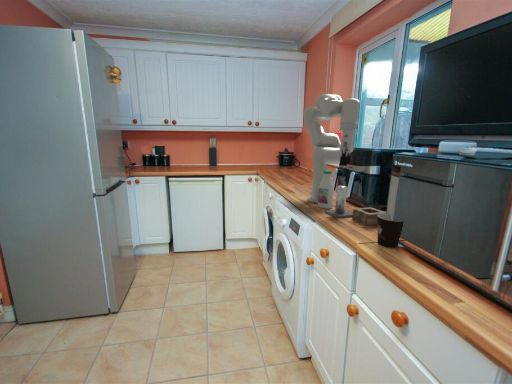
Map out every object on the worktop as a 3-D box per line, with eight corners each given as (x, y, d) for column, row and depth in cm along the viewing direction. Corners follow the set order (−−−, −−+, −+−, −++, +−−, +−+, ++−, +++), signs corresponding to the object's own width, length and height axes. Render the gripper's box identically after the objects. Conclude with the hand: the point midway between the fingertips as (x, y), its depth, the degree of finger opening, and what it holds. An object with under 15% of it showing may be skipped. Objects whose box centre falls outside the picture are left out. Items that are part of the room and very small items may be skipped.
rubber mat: (325, 212, 130) (325, 210, 130) (341, 211, 133) (341, 209, 133) (337, 218, 121) (337, 216, 121) (354, 216, 124) (355, 214, 124)
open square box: (352, 219, 120) (353, 208, 119) (369, 217, 123) (370, 207, 122) (368, 225, 111) (369, 214, 110) (386, 223, 114) (387, 213, 113)
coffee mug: (402, 251, 86) (406, 222, 84) (374, 246, 90) (377, 218, 87) (399, 239, 96) (403, 213, 94) (374, 235, 100) (377, 210, 98)
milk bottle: (327, 205, 145) (329, 169, 141) (335, 208, 138) (338, 171, 134) (314, 205, 143) (317, 169, 139) (322, 209, 136) (325, 171, 132)
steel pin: (338, 214, 124) (341, 187, 122) (333, 211, 128) (335, 185, 126) (346, 213, 126) (348, 187, 123) (340, 210, 130) (343, 185, 127)
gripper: (354, 126, 110) (350, 166, 114) (358, 128, 125) (355, 163, 129) (336, 126, 113) (333, 165, 117) (342, 128, 128) (339, 162, 132)
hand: (344, 164), depth 123 cm, fingers open, 9 cm apart
